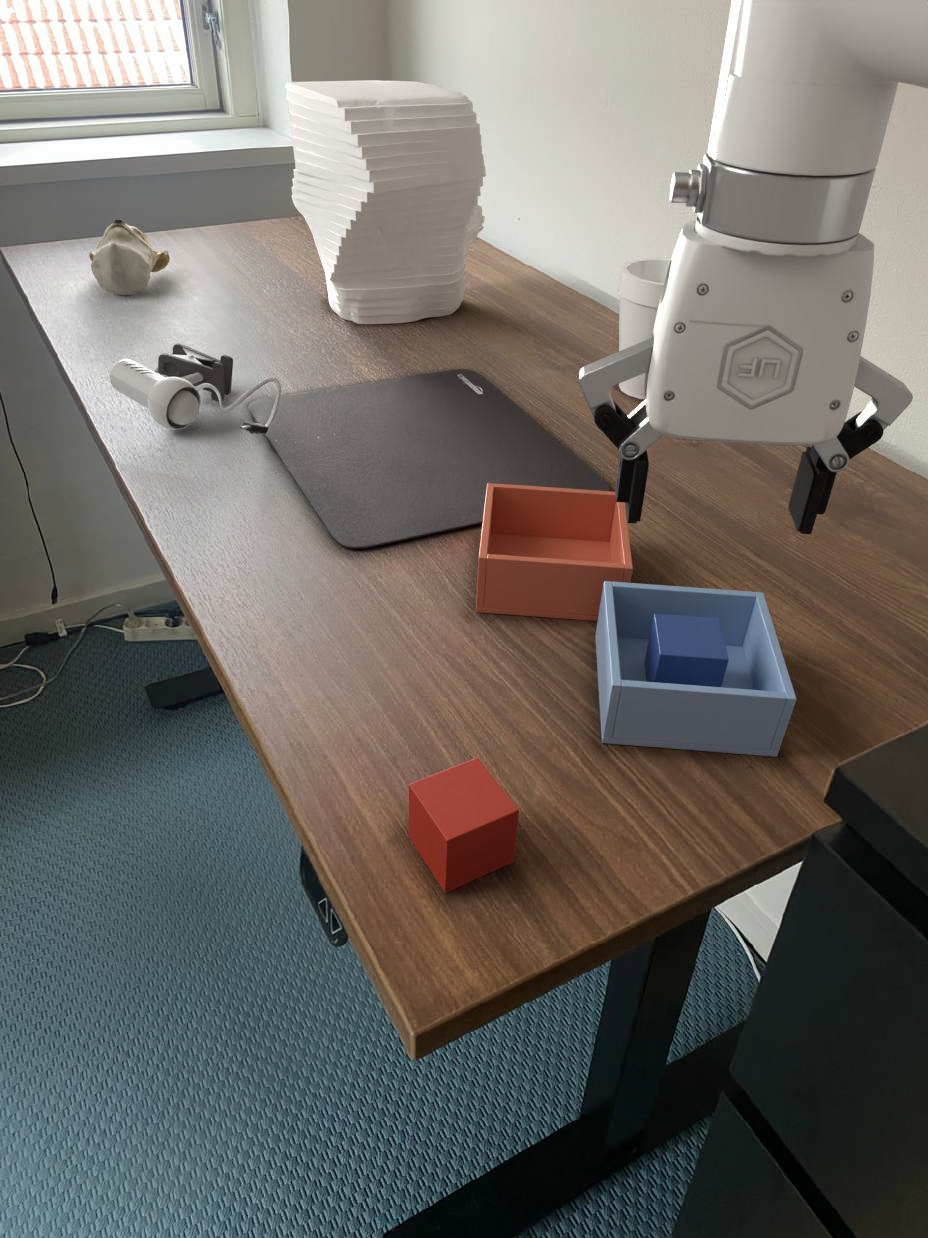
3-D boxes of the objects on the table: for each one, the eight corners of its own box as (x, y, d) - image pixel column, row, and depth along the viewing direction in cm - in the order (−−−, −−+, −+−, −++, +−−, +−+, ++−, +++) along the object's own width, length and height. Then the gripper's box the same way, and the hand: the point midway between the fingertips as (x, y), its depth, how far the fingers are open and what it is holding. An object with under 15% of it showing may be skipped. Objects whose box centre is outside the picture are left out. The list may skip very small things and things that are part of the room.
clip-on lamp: (307, 440, 96) (182, 372, 102) (314, 384, 93) (184, 317, 98) (226, 475, 88) (94, 399, 93) (231, 415, 84) (93, 339, 90)
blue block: (706, 667, 65) (719, 618, 63) (715, 710, 62) (729, 659, 59) (643, 662, 65) (653, 613, 63) (649, 705, 62) (660, 654, 59)
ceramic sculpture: (66, 230, 115) (86, 207, 127) (79, 301, 120) (98, 272, 132) (154, 230, 117) (166, 207, 129) (164, 300, 122) (175, 272, 134)
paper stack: (291, 291, 127) (274, 76, 111) (476, 278, 134) (485, 75, 119) (323, 347, 111) (309, 105, 96) (530, 329, 119) (549, 102, 103)
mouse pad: (619, 493, 85) (620, 491, 85) (342, 554, 75) (342, 552, 75) (471, 367, 108) (471, 366, 107) (243, 402, 98) (242, 400, 98)
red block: (474, 808, 55) (477, 756, 52) (513, 862, 52) (519, 809, 49) (408, 836, 53) (408, 784, 50) (445, 893, 50) (447, 840, 47)
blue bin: (747, 647, 68) (763, 592, 65) (777, 757, 59) (797, 699, 56) (595, 635, 68) (603, 580, 65) (601, 743, 60) (612, 685, 56)
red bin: (615, 543, 79) (623, 491, 76) (623, 623, 70) (633, 568, 67) (484, 534, 79) (487, 482, 76) (475, 612, 70) (478, 557, 67)
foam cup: (652, 413, 100) (673, 291, 92) (588, 385, 105) (602, 268, 97) (705, 391, 105) (729, 274, 97) (641, 365, 110) (659, 253, 102)
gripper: (599, 215, 41) (566, 541, 51) (999, 232, 40) (884, 561, 50) (594, 178, 47) (566, 477, 57) (943, 192, 46) (850, 494, 56)
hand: (714, 516), depth 54 cm, fingers open, 9 cm apart
